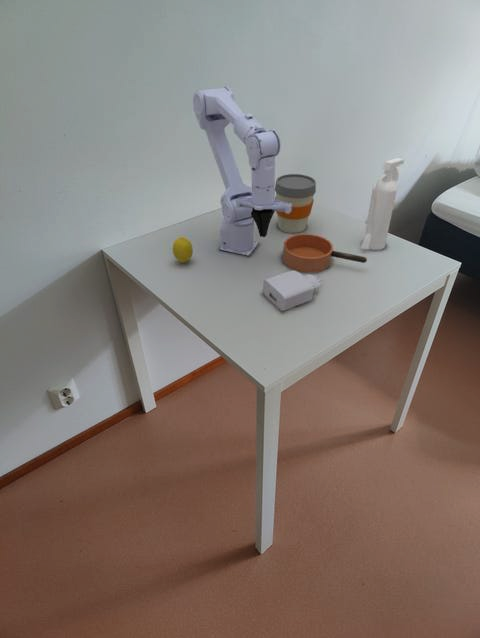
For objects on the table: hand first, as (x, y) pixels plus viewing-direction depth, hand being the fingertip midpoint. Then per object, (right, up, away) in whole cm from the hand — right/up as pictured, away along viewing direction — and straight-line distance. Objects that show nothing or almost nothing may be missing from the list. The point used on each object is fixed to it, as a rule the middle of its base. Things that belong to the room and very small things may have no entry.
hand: (263, 235), depth 108 cm
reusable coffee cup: (+11, +8, +24) cm, 28 cm away
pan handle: (+23, -6, +3) cm, 24 cm away
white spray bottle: (+34, 0, +14) cm, 37 cm away
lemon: (-22, -6, +8) cm, 24 cm away
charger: (+8, -16, -4) cm, 19 cm away
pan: (+13, -5, +8) cm, 16 cm away
